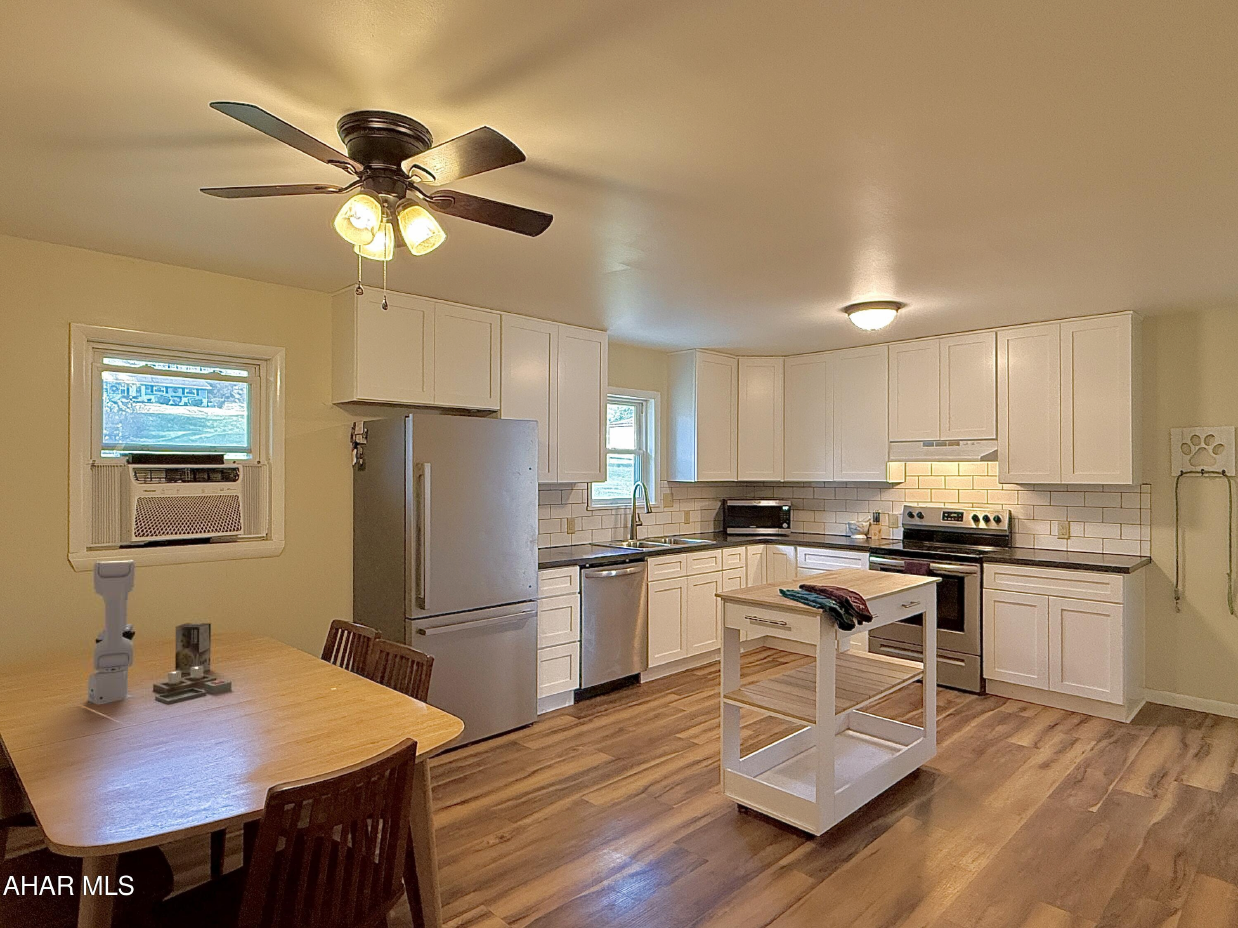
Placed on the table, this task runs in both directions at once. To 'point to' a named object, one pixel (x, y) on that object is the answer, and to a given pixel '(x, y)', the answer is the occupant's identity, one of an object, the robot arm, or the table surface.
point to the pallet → (182, 684)
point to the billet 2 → (196, 673)
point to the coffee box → (192, 646)
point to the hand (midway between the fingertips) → (115, 657)
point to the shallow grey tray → (180, 695)
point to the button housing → (217, 686)
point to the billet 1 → (174, 678)
